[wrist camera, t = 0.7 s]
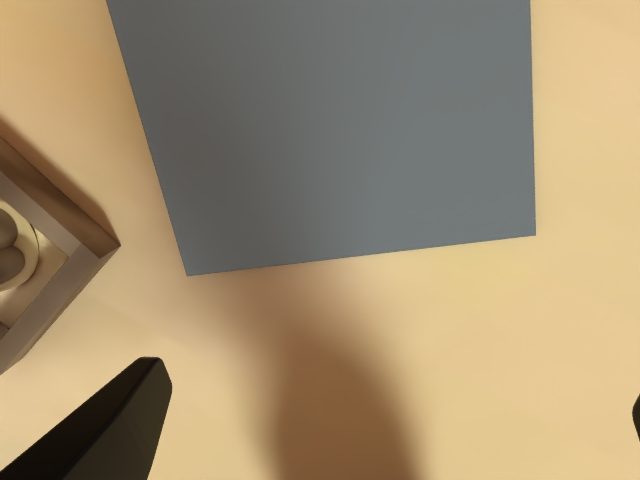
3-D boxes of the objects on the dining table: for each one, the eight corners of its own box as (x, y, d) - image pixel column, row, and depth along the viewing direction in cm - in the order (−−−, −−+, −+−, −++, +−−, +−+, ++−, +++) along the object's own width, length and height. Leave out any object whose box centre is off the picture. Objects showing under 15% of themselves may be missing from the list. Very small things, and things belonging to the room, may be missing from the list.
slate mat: (533, 232, 21) (535, 235, 21) (189, 273, 25) (186, 276, 24) (520, -240, 16) (524, -248, 15) (79, -108, 19) (73, -112, 19)
